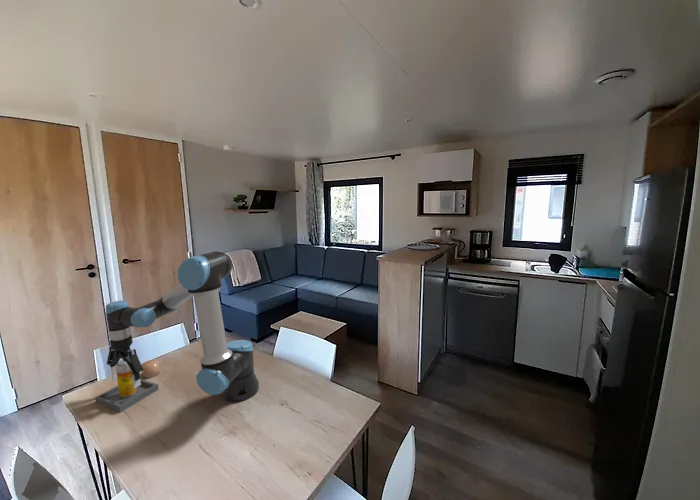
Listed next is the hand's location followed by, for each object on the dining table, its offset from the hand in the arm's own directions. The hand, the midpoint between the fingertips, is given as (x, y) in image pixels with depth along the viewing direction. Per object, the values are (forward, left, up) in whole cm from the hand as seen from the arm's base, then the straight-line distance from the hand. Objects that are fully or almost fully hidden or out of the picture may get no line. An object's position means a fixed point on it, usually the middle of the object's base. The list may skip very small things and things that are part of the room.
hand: (126, 383), depth 128 cm
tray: (0, 0, -6) cm, 6 cm away
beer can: (0, 0, -6) cm, 6 cm away
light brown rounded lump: (+7, -15, -6) cm, 18 cm away
